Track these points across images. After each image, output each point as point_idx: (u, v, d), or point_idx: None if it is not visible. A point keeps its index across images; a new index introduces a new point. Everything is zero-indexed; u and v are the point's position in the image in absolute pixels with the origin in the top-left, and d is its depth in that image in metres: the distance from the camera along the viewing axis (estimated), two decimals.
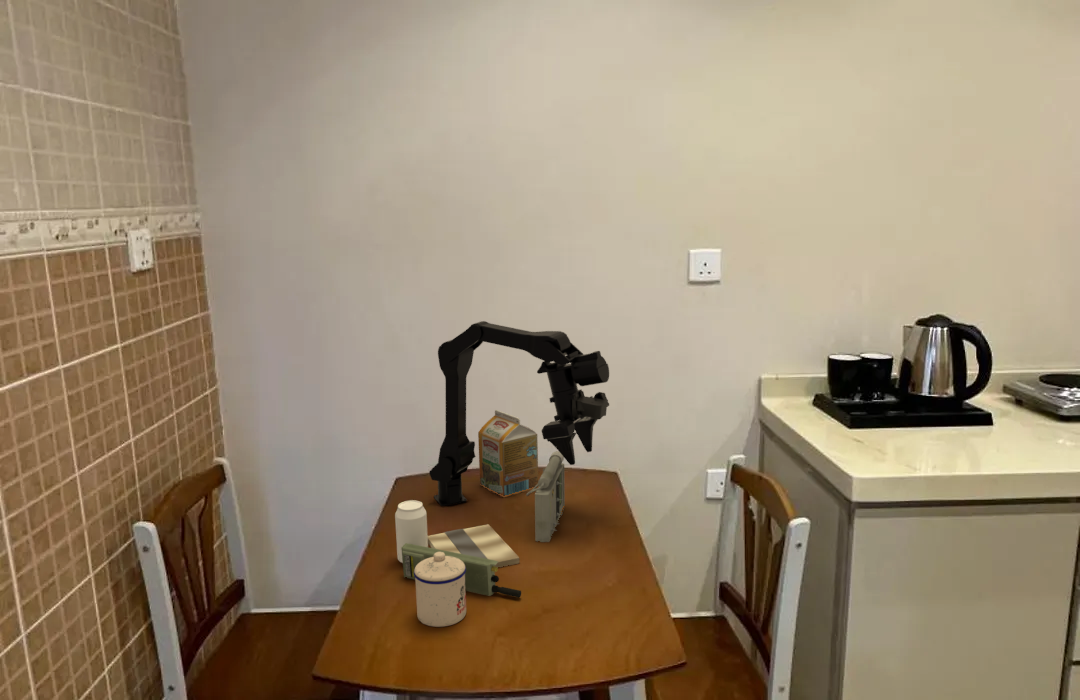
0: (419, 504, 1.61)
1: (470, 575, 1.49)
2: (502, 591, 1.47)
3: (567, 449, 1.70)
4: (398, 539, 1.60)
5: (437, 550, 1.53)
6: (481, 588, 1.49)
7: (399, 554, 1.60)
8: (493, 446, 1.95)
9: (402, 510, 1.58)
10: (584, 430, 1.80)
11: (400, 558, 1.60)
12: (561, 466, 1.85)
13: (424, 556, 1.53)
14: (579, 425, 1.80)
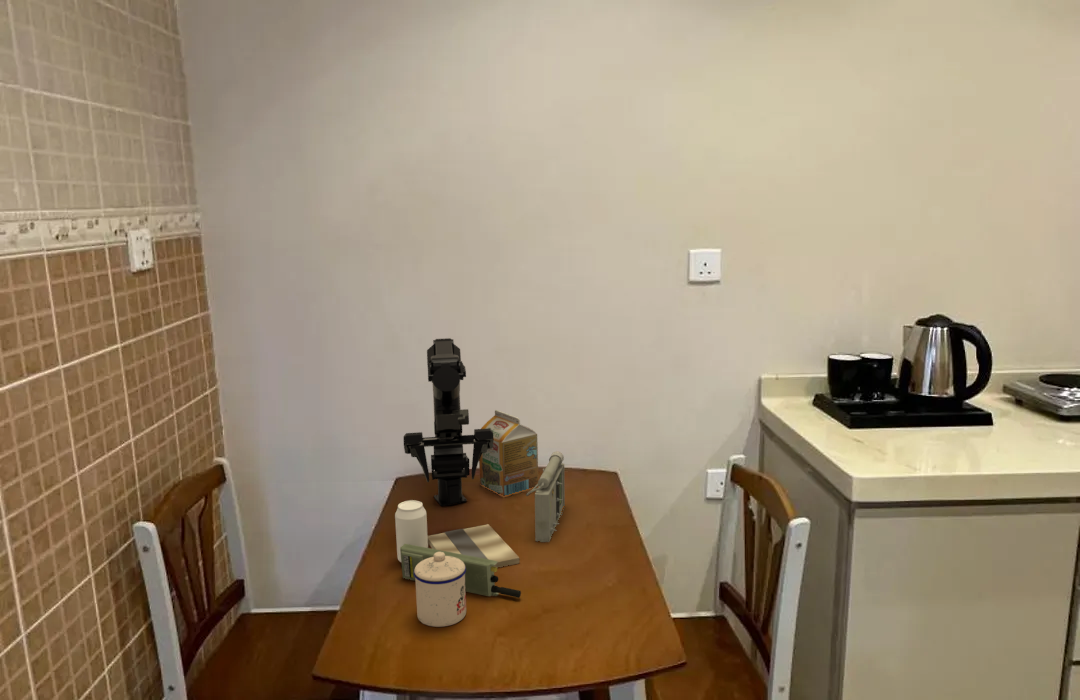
0: (419, 504, 1.61)
1: (470, 575, 1.49)
2: (502, 591, 1.47)
3: None
4: (398, 539, 1.60)
5: (436, 550, 1.53)
6: (480, 588, 1.48)
7: (399, 554, 1.60)
8: (493, 446, 1.95)
9: (402, 510, 1.58)
10: None
11: (400, 558, 1.60)
12: (561, 466, 1.85)
13: (423, 557, 1.52)
14: None
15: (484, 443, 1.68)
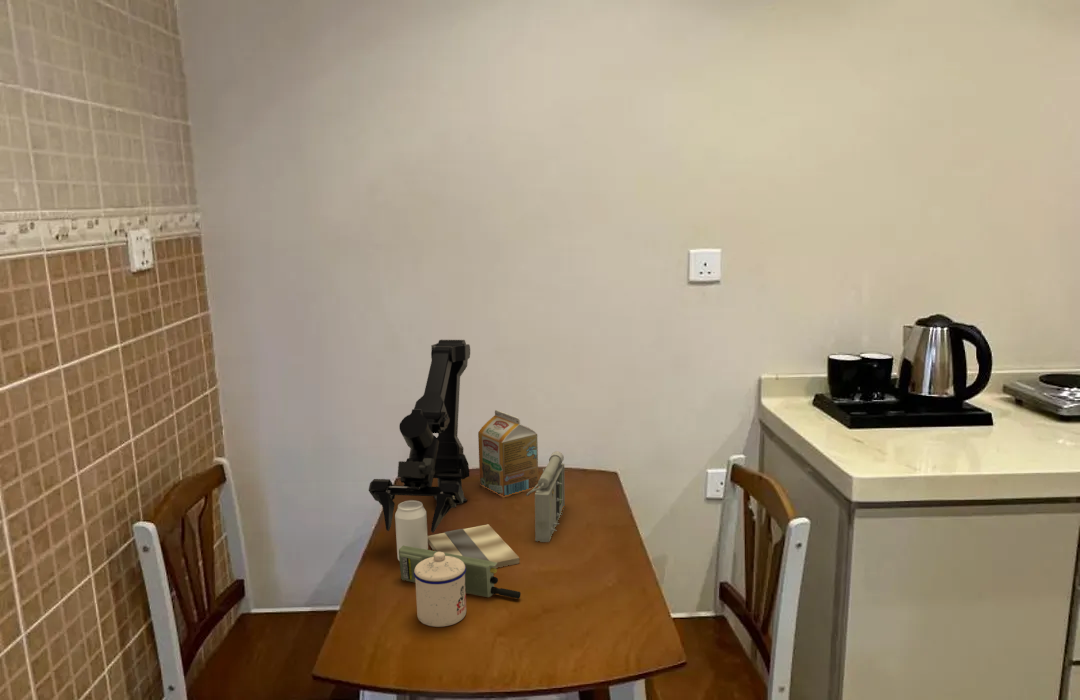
0: (419, 504, 1.61)
1: (469, 576, 1.48)
2: (502, 592, 1.47)
3: None
4: (398, 539, 1.60)
5: (435, 552, 1.52)
6: (480, 589, 1.48)
7: None
8: (493, 446, 1.95)
9: (402, 510, 1.58)
10: None
11: None
12: (561, 466, 1.85)
13: (422, 559, 1.52)
14: None
15: (447, 496, 1.61)
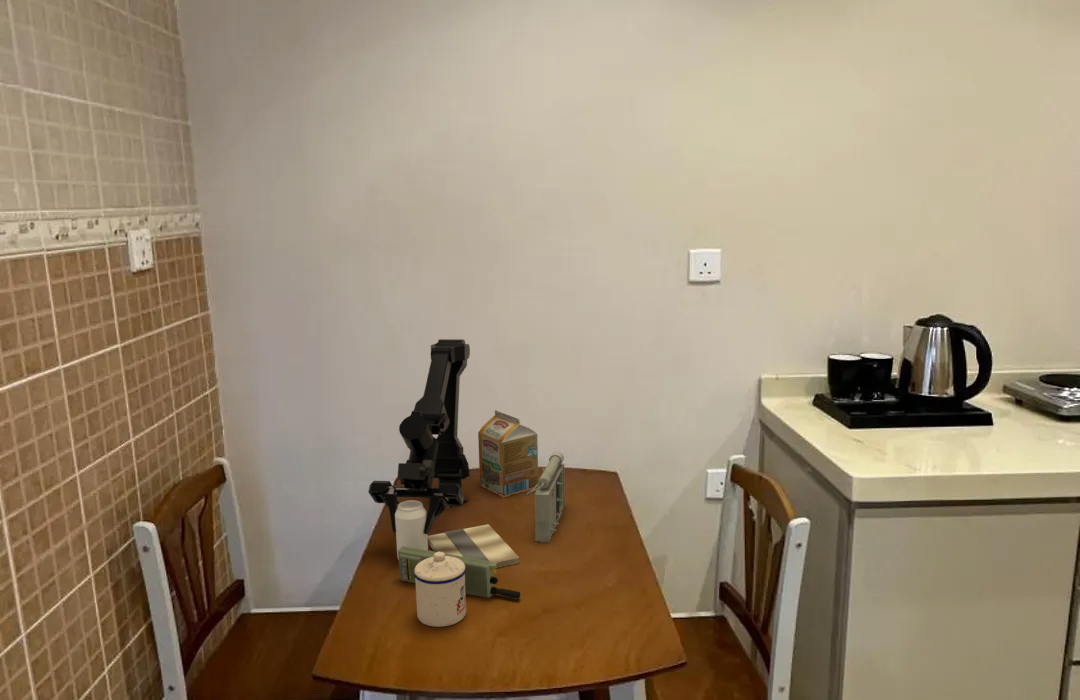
0: (419, 504, 1.61)
1: (469, 577, 1.48)
2: (502, 593, 1.47)
3: None
4: (398, 539, 1.60)
5: (434, 553, 1.52)
6: (480, 590, 1.48)
7: None
8: (493, 446, 1.95)
9: (402, 510, 1.58)
10: None
11: None
12: (561, 466, 1.85)
13: (421, 559, 1.52)
14: None
15: (441, 497, 1.61)
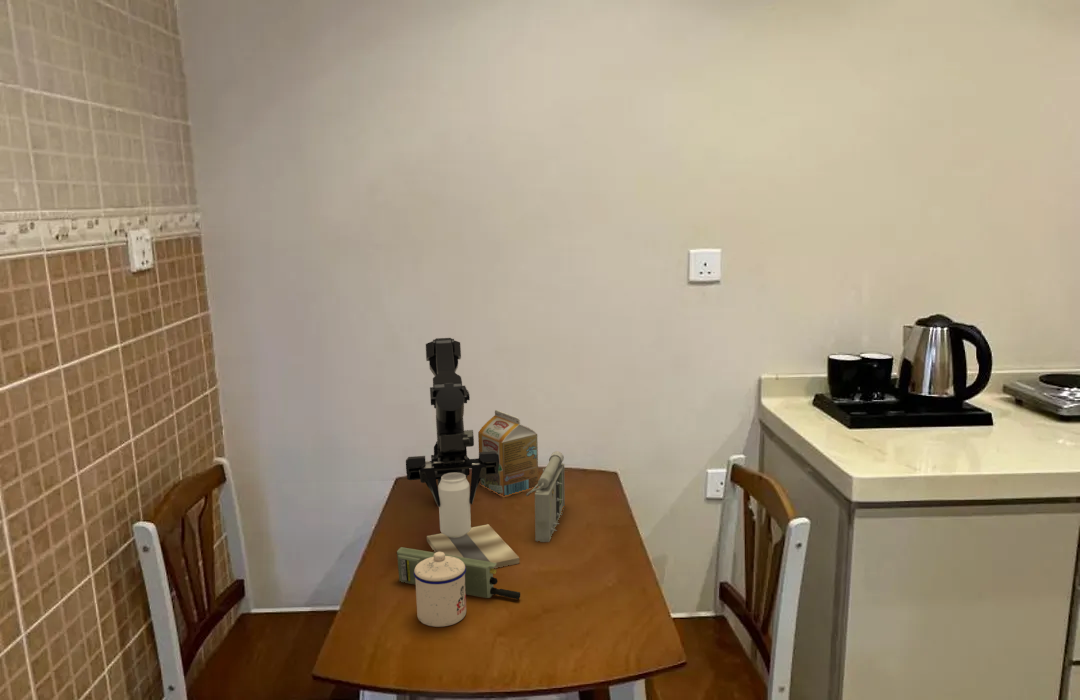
0: (461, 475, 1.61)
1: (469, 577, 1.48)
2: (501, 593, 1.47)
3: (431, 488, 1.60)
4: (444, 512, 1.58)
5: (434, 553, 1.52)
6: (479, 590, 1.48)
7: (445, 527, 1.59)
8: (493, 446, 1.95)
9: (449, 482, 1.57)
10: None
11: (446, 531, 1.59)
12: (561, 466, 1.85)
13: (420, 560, 1.51)
14: None
15: (483, 466, 1.61)
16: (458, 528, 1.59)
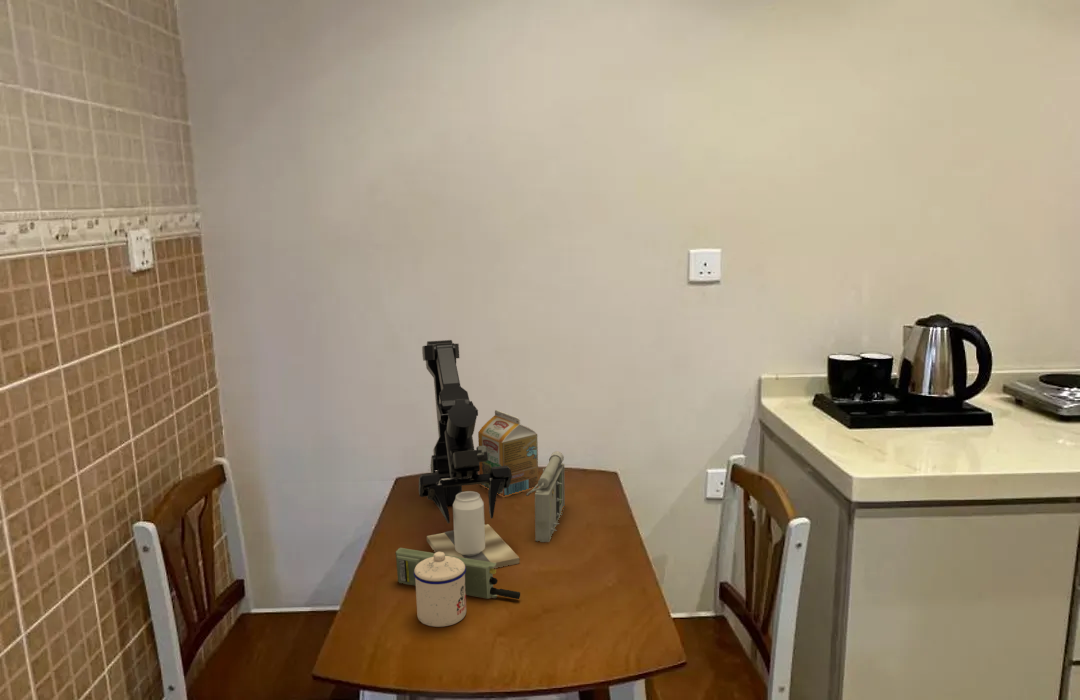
0: (475, 494, 1.62)
1: (468, 577, 1.48)
2: (501, 593, 1.46)
3: (440, 505, 1.61)
4: (460, 531, 1.60)
5: (433, 554, 1.51)
6: (479, 590, 1.47)
7: (461, 546, 1.60)
8: (493, 446, 1.95)
9: (465, 501, 1.59)
10: (489, 495, 1.64)
11: (462, 550, 1.60)
12: (561, 466, 1.85)
13: (419, 561, 1.51)
14: (489, 491, 1.66)
15: (502, 480, 1.63)
16: (474, 546, 1.60)
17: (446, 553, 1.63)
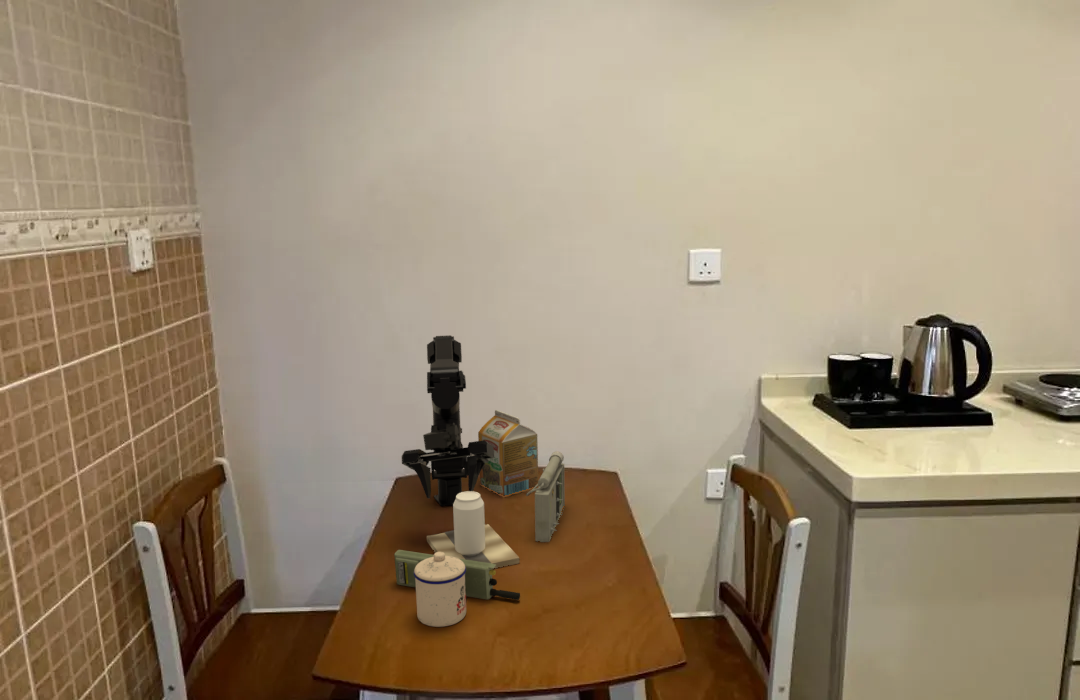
0: (475, 494, 1.62)
1: (468, 579, 1.47)
2: (501, 594, 1.46)
3: None
4: (460, 531, 1.60)
5: (432, 555, 1.51)
6: (479, 592, 1.47)
7: (461, 546, 1.60)
8: (493, 446, 1.95)
9: (465, 501, 1.59)
10: None
11: (462, 550, 1.60)
12: (561, 466, 1.85)
13: (418, 562, 1.50)
14: None
15: (477, 457, 1.64)
16: (474, 546, 1.60)
17: (446, 553, 1.63)
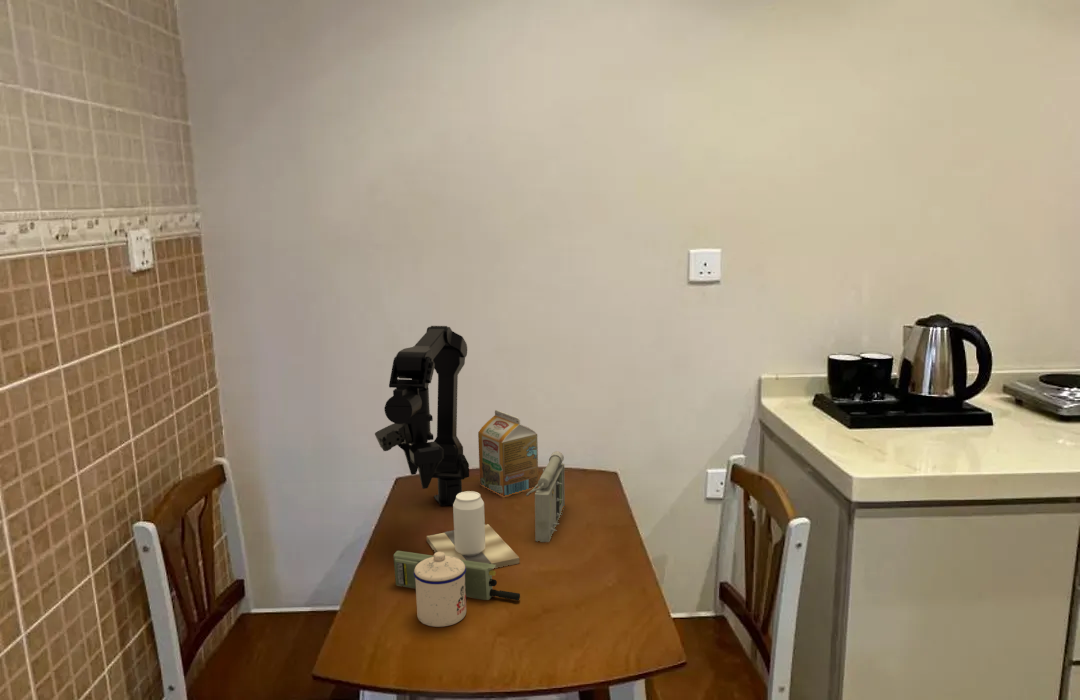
0: (475, 494, 1.62)
1: (467, 580, 1.47)
2: (501, 595, 1.46)
3: None
4: (460, 531, 1.60)
5: (431, 556, 1.50)
6: (478, 592, 1.47)
7: (461, 546, 1.60)
8: (493, 446, 1.95)
9: (465, 501, 1.59)
10: None
11: (462, 550, 1.60)
12: (561, 466, 1.85)
13: None
14: None
15: (414, 464, 1.62)
16: (474, 546, 1.60)
17: (446, 553, 1.63)
